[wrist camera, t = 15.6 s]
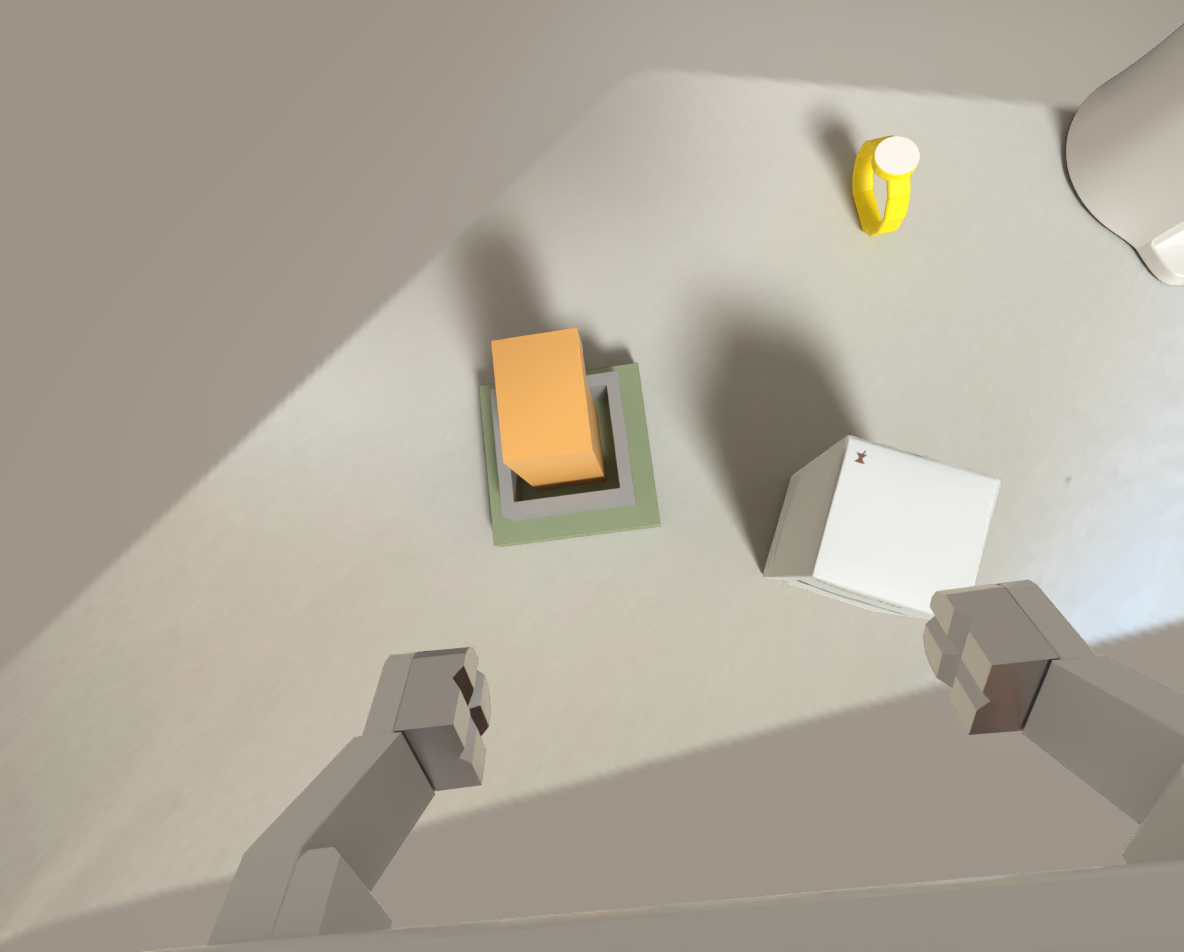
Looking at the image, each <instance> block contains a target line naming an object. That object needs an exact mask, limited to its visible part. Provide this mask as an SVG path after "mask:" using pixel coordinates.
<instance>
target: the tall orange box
mask: <svg viewBox="0 0 1184 952" xmlns="http://www.w3.org/2000/svg"><path fill="white" fill-rule="evenodd" d="M491 346H492V356H493V366H494V376H495V386H496V396H497V405H498V415H499V425H500V435H501V445H502V455H503V463H504V464H506V465H507V466H508V467H509V468H510V469H512V470H513V471H514V472H515V473H517V474H518V475H519V476H520V477H522V478H523V479H524V480H525V481H526V482H528V483H529V484H530V485H531V486H533V487H534V488H535V489H536V490H545V489H553V488H560V487H567V486H575V485H582V484H589V483H596V482H604V481H606V475H605V468H604V460H603V452H602V444H601V437H600V429H599V421H598V414H597V411H596V408H595V404H594V401H593V398H592V395H591V392H590V389H589V385H588V382H587V379H586V372H585V364H584V357H583V349H582V343H581V339H580V336H579V333H578V329H577V328H571V329H564V330H558V331H551V332H545V333H538V334H532V335H525V336H519V337H513V338H506V339H500V340H493V341H491Z"/></svg>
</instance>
